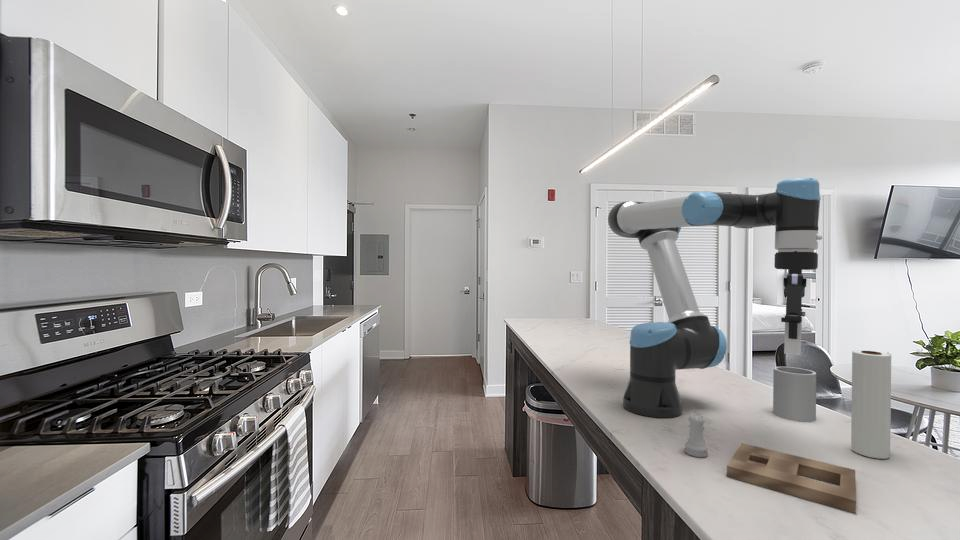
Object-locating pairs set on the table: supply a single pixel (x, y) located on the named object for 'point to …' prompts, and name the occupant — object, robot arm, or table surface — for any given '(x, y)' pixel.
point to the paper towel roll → (871, 403)
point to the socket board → (795, 476)
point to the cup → (794, 394)
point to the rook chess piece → (696, 437)
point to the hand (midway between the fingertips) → (793, 349)
